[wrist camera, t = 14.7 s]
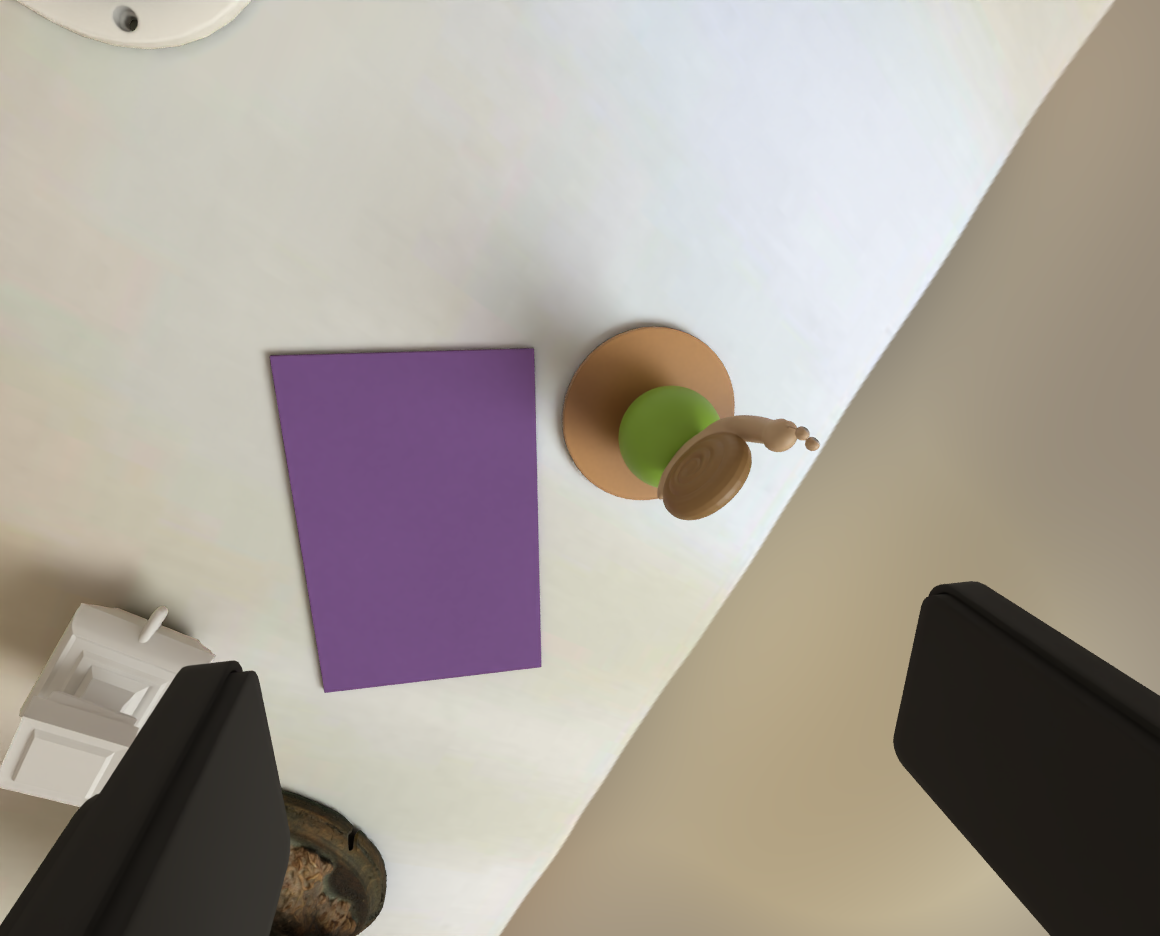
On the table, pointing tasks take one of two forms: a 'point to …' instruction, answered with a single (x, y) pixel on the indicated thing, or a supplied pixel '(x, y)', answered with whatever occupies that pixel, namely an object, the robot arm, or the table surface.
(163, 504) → the table surface
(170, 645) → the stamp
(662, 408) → the snail figurine
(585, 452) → the coaster
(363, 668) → the cloth
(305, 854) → the owl figurine
